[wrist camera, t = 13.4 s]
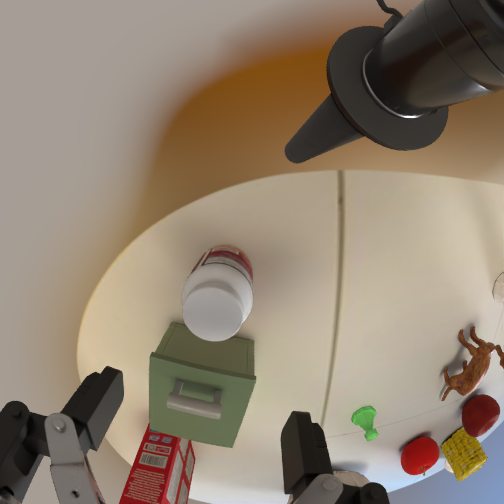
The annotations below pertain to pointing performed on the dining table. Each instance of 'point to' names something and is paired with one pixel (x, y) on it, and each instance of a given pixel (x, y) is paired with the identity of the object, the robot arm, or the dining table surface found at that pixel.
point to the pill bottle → (218, 294)
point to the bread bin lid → (197, 400)
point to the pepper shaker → (499, 289)
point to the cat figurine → (472, 365)
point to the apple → (480, 415)
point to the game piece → (366, 421)
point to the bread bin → (208, 350)
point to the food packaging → (160, 470)
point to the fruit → (419, 456)
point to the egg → (448, 466)
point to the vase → (347, 479)
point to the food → (463, 454)
